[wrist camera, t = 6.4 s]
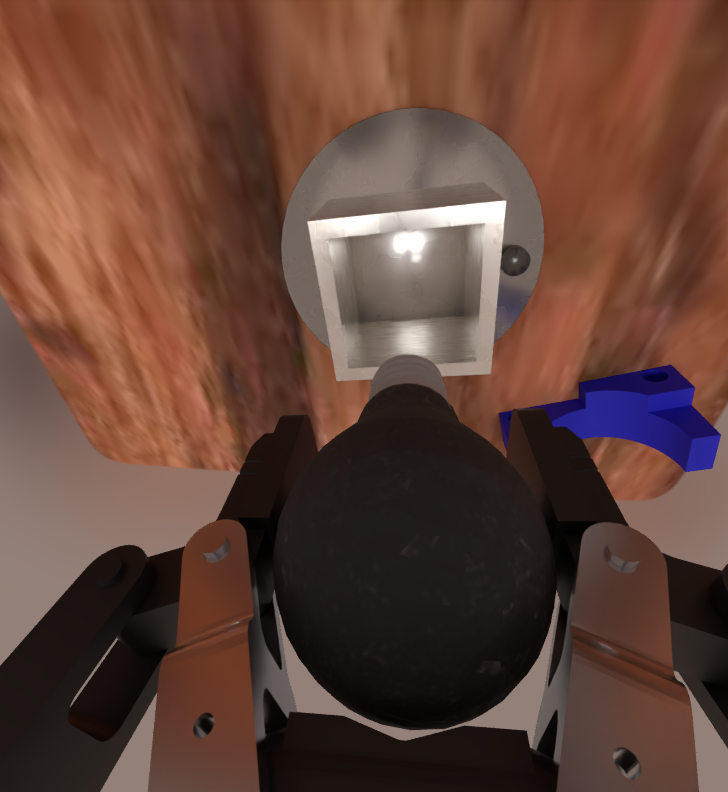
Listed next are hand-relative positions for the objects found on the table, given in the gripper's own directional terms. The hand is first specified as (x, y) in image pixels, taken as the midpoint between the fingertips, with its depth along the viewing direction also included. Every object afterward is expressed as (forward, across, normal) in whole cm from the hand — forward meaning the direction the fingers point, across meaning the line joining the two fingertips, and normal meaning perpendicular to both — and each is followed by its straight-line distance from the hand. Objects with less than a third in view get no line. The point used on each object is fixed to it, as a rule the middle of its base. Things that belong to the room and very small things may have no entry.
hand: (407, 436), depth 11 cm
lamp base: (+17, 0, 0) cm, 17 cm away
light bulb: (+4, 0, 0) cm, 4 cm away
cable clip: (+17, -13, +12) cm, 25 cm away
